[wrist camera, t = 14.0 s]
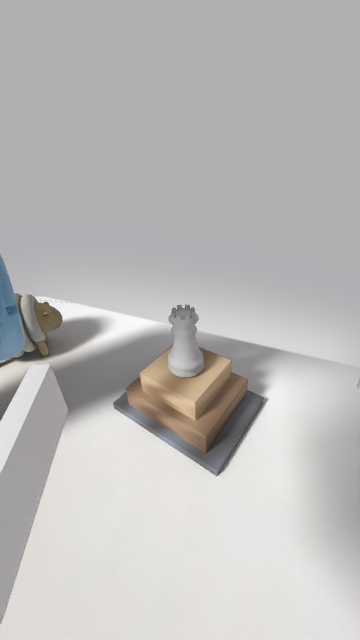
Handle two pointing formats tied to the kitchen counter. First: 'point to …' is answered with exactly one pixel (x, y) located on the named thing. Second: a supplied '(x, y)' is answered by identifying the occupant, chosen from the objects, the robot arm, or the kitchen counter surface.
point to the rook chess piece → (184, 344)
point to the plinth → (193, 408)
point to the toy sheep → (36, 322)
